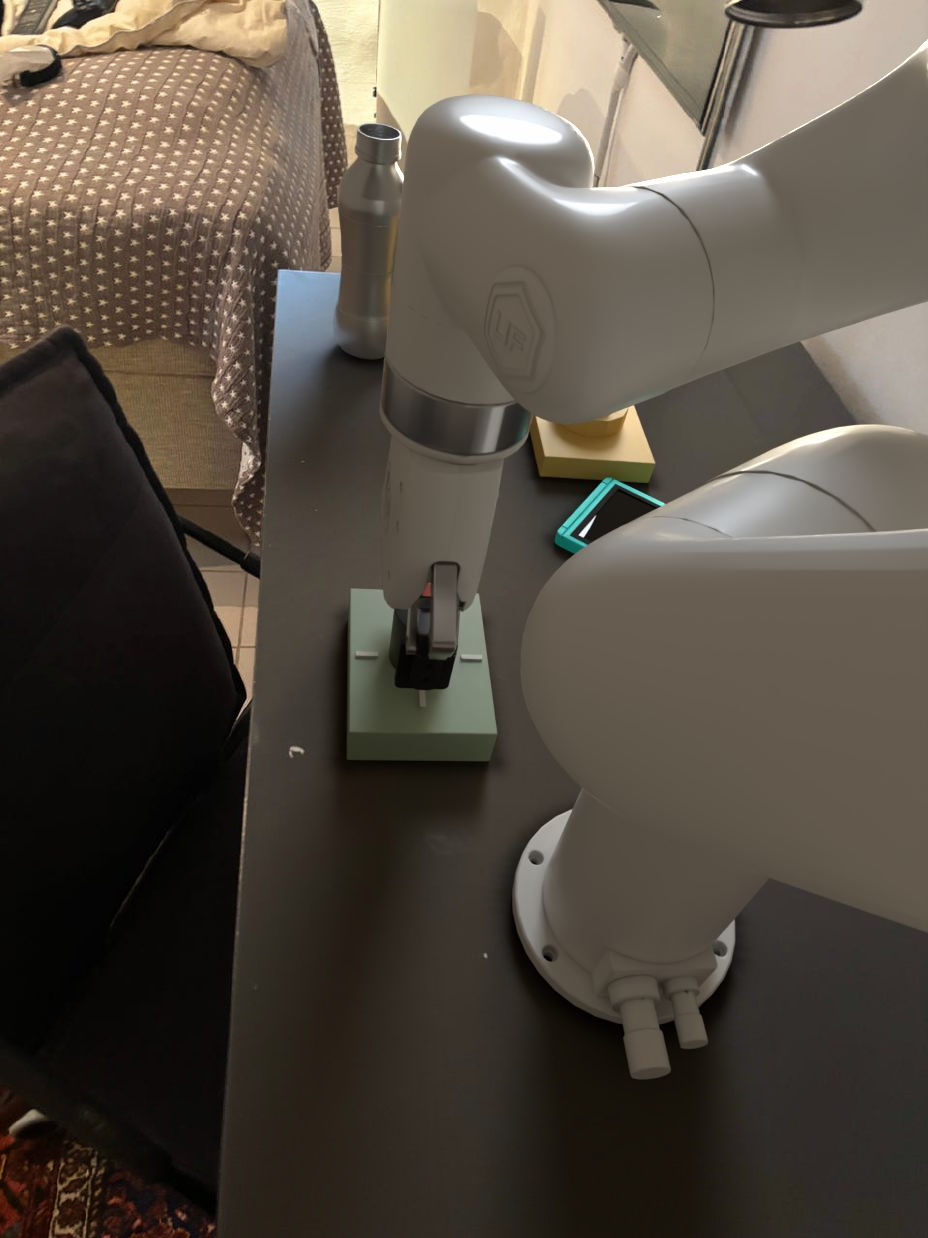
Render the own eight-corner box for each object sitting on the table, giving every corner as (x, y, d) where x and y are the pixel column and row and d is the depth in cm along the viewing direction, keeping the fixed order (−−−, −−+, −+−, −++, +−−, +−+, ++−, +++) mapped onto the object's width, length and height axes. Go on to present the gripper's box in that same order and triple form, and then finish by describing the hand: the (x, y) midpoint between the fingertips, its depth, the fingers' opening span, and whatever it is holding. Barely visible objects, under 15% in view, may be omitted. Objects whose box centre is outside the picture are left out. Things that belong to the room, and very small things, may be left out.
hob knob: (452, 681, 56) (463, 631, 52) (389, 679, 55) (395, 628, 51) (448, 634, 58) (457, 583, 55) (387, 632, 58) (393, 580, 54)
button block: (648, 483, 78) (662, 446, 75) (539, 476, 76) (549, 438, 74) (619, 400, 87) (630, 364, 84) (520, 392, 85) (528, 356, 82)
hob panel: (489, 761, 55) (498, 732, 53) (346, 760, 54) (348, 730, 52) (472, 621, 63) (479, 591, 61) (347, 617, 62) (349, 586, 60)
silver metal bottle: (374, 375, 83) (391, 153, 69) (317, 348, 85) (322, 126, 71) (412, 350, 88) (435, 135, 73) (357, 325, 89) (369, 110, 75)
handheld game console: (732, 638, 66) (739, 626, 65) (549, 543, 71) (553, 531, 70) (773, 568, 72) (780, 556, 71) (603, 485, 77) (607, 472, 76)
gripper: (378, 292, 47) (357, 525, 60) (385, 506, 36) (357, 737, 49) (514, 307, 49) (464, 532, 61) (561, 517, 37) (489, 740, 50)
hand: (417, 622), depth 55 cm, fingers open, 9 cm apart
